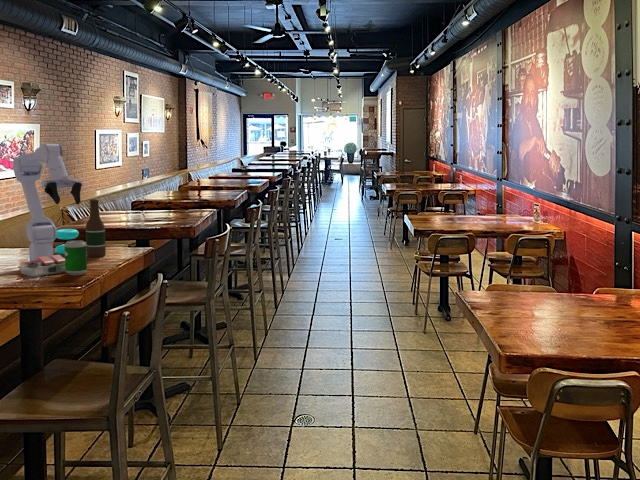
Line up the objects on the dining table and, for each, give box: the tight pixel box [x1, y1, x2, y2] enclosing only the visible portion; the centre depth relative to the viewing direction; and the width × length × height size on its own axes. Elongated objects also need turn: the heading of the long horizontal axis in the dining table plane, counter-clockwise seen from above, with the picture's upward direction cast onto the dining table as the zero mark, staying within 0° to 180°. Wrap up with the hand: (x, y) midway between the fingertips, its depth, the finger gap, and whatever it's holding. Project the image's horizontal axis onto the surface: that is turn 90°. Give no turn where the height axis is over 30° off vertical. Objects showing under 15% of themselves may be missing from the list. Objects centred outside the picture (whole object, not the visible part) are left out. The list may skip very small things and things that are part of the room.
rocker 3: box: [51, 254, 65, 263], centre depth 246 cm, size 6×3×1 cm, turn 50°
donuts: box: [54, 228, 80, 255], centre depth 284 cm, size 10×10×10 cm
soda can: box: [64, 239, 88, 276], centre depth 240 cm, size 8×8×12 cm
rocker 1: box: [24, 260, 41, 265], centre depth 238 cm, size 6×3×1 cm, turn 48°
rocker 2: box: [38, 256, 54, 265], centre depth 242 cm, size 6×3×1 cm, turn 50°
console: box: [19, 260, 66, 278], centre depth 242 cm, size 9×15×4 cm, turn 139°
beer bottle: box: [85, 198, 107, 258], centre depth 277 cm, size 8×8×24 cm
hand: (68, 202), depth 234 cm, fingers open, 7 cm apart
